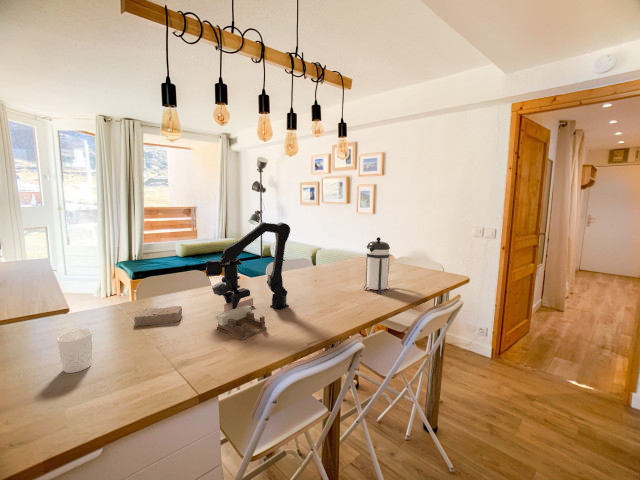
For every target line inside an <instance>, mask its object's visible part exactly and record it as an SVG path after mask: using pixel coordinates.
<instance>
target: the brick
mask: <svg viewBox="0 0 640 480" xmlns="http://www.w3.org/2000/svg"><path fill="white" fill-rule="evenodd" d="M182 315H183V308H182V306H181V305H176V306H175V305H174V306H173V305H172V306H167V307H158V308H157V307H154V308H153V307H151V308H145V309H144V308H143V309H140V310H138V312H137V313H136V315H134V322H133V323H134V327H138V325H142V326H148V325H160V324H169V323H171V324H173V323H175V322H179V321H180V320H181V318H182Z"/></svg>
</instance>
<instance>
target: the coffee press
mask: <svg viewBox="0 0 640 480" xmlns="http://www.w3.org/2000/svg"><path fill="white" fill-rule="evenodd" d="M390 250H391V246H390V244H389V243H388V242H385V241H381V237H376V241H370V242H368V244H367V245H366V251H367V252H366V259H365V260H366V263H365V264H366V265H365V284H364V287H363V288H364V289H366V290H367V289H371V290H377V292H379V293H378V294H382V291H383V290H387V289H389V290H390V289H391V288H390V287H389V272H390Z"/></svg>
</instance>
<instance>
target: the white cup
mask: <svg viewBox="0 0 640 480" xmlns="http://www.w3.org/2000/svg"><path fill="white" fill-rule="evenodd" d="M92 336H93V333H92V331H91V330H90V329H78V330H77V329H76V330H73V331H68V332H66V333H63V334H61V335H59V336H58V337H57V339H56V340H57V345H58V347H57V348H58V350H59V351H58V352H59V353H58V354H59V357H60V361H61V366H62V370H63V372H64V373H67V374H71V373H73V374H74V373H78V372H82V371H84V370H86V369H88V368H89V367H91V366H92V364H93V339H92V338H93V337H92Z"/></svg>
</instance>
